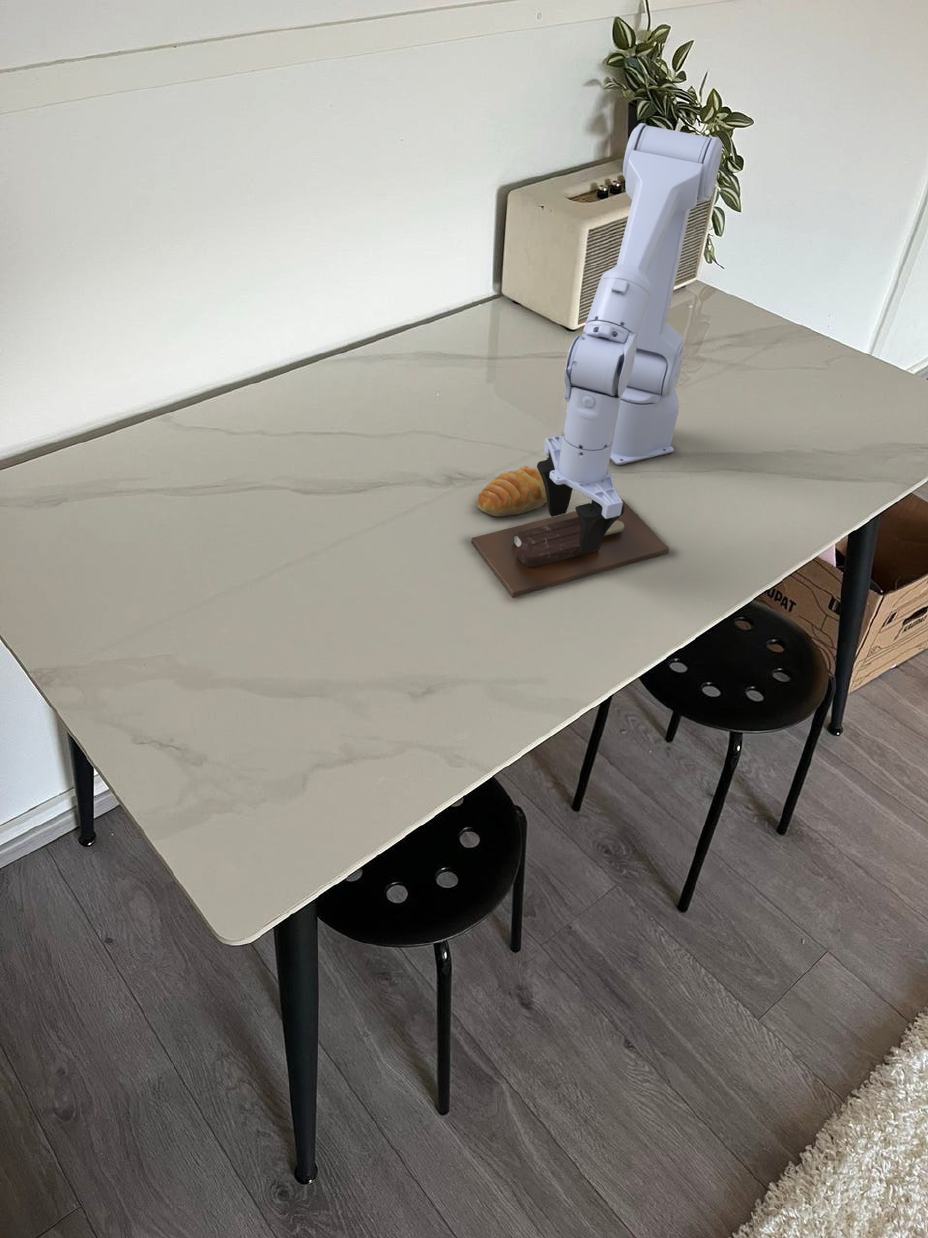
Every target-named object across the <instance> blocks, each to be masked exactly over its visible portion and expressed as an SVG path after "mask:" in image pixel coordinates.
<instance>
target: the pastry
mask: <svg viewBox="0 0 928 1238" xmlns="http://www.w3.org/2000/svg"><path fill="white" fill-rule="evenodd" d="M546 503H547V497H546V491H545V487H544V483H543V480H542V477H541V475H540V473H539V471H538V469H537V468H535V467H529V466H528V465H524V466H521V467H519V468H518V469H515V470H509V471H507V472H504V473H500V474H499V475H498V476H497V477H495V479H493V480H492V481H491V482H490V483H488V484H487V485H486V487H485V488H483V489H482V491H481V492H480V493H479V494H478V501H477V508H478V509H479V510H480V511H482V512H483V513H485V514H487V515H490V516H493V517H497V518H499V517H502V518H503V517H506V516H516V515H517V516H518V515H521V514H526V513H529V512H531V511H532V510H534V509H540V508H542V507H543V506H544V505H545V504H546Z"/></svg>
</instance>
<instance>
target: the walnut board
mask: <svg viewBox="0 0 928 1238" xmlns="http://www.w3.org/2000/svg"><path fill="white" fill-rule="evenodd" d="M620 499H621V498H620ZM621 500H622V501H623V505H624V506H625V510H624V513H623V514H622V515H621V516H620V517H619V518H618V519H617V520H616V521H621V522H622V523H623V524H624V529H623V530H622V531H620V532H616V533H612V534H609V535H605V536H604V537H603V539H602V541H601V547H600V550H598V551H595V552H591V553H587V554H584V555H580V556H576V557H573V558H569V559H565V560H561V561H558V562H554V563H550V564H546V565H543V566H539V567H535V568H531V567H527V566H525V565H524V564H523V563H522V562H521V561H520V560H519V558H518V557H517V547H516V545H515V544H514V543H513V536H514V534H515V533H517V532H521V531H525V530H529V529H533V528H537V527H541V526H544V525H548V524H552V523H556V522H560V521H564V520H568V519H572V518H576V517H578V514H577V512H576V510H575V511H571V512H566V513H565V514H561V515H557V516H553V517H551V516H550V517H547V518H543V519H540V520H536V521H531V522H528V523H525V524H524V523H523V524H521V525H517V526H512V527H509V528H505V529H501V530H496V531H493V532H489V533H485V534H481V535H477V536H473V537H471V541H470V543H471V544H472V546H473V547H474V549H475V550H476V551H477V552H478V554H479V556H481V558H482V559H483V560H484V562H485V564H486V565H487V566H488V567H489V569H490V570H491V571H492V572H493V574H494V575H495V576H496V578H497V579H498V580H499V582H500V583H501V584H502V586H503V587H504V588H505V590H506V591H507V592H508V593H509V595H510V597H512V598H515V597H518V596H522V595H525V594H529V593H532V592H536V591H539V590H543V589H547V588H551V587H553V586H557V585H561V584H564V583H569V582H572V581H575V580H578V579H581V578H586V577H589V576H592V575H597V574H600V573H603V572H607V571H610V570H614V569H617V568H622V567H625V566H627V565H632V564H635V563H638V562H639V563H640V562H642V561H646V560H649V559H653V558H656V557H659V556H663V555H666V554H669V551H670V547H669V546H667V544H666V543H665V542H664V541H663V540H662V539H661V537H659V536H658V534H656V533H655V531H654V530H653V529H651V528H650V527H649V526H648V524H647V523H646V522H645V521H644V520H643V519H642V518H641V517H640V516H639V515H638V514H637V513H636V511H634V510H633V508H632V507H631V506H629V505H628V503H626V501H624V499H621Z"/></svg>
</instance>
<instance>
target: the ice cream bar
mask: <svg viewBox="0 0 928 1238" xmlns="http://www.w3.org/2000/svg"><path fill="white" fill-rule="evenodd" d="M623 529H624V524H623V523H622V522H621V521H615V522H614V523H613V524H612V525H611V526H610V528H609V529H608V530H607V532H606V534H605V535H609V534H612V533H616V532H620V531H622V530H623ZM605 535H604V536H605ZM579 540H580V522H579V518H578V517H576V518H572V519H568V520H564V521H560V522H556V523H552V524H548V525H544V526H541V527H537V528H533V529H529V530H525V531H521V532H517V533H515V534H514V536H513V543H514V544H515V545H516V547H517V557H518V558H519V560H520V561H521V562H522V563H523V564H524V565H525V566H527V567H531V568H535V567H539V566H543V565H546V564H550V563H554V562H558V561H561V560H565V559H569V558H573V557H576V556H580V555H584V554H587V553H591V552H595V551H598V550H600V547H601V542H600V544H599V546H598V548H597V550H594V551H591V552H587V553H582V552H581V550H580V546H579Z"/></svg>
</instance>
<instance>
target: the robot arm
mask: <svg viewBox="0 0 928 1238" xmlns="http://www.w3.org/2000/svg"><path fill="white" fill-rule="evenodd" d="M722 155H723V144H722V141H721V139H720V137H718V136H712V137H709V136H705V135H699V134H694V133H689V132H684V131H679V130H673V129H668V128H663V127H658V126H651V125H648V124H647V123H645V122H644V123H643V122H641V123H638V125H637V126H635V127H634V129H633V130H632V131H631V133H630V136H629V138H628V141H627V145H626V149H625V152H624V156H623V157H624V158H623V163H622V175H623V178H624V180H625V193H626V195H627V197H629V199H631V203H630V208H629V212H628V216H627V221H626V225H625V227H624V228H625V229H624V233H623V237H622V241H621V245H620V249H619V253H618V257H617V261H616V265H615V266H613V267H612V268H610V269H608V270H606V271H604V273H603V274H602V275H601V276H600V280H599V283H598V286H597V288H596V292H595V295H594V297H593V301H592V303H591V306H590V309H589V311H588V315H587V317H586V321H585V324H584V327H583V330H582V332H581V333H582V334H581V336H580V335H576V336H575V337H574V339H573V340H572V343H571V345H570V346H569V350H568V353H567V356H566V360H565V367H564V386H565V390H564V400H566V401H567V403H566V411H565V418H564V424H563V432H562V436H561V435H555V436H551V437H546V438H545V439H544V447H543V452H544V454H545V455H546V456H548V457H547V458H546V459H545V460H540V461H538V463H537V465H536V470H538V471H539V473H540V475H541V477H542V480H543V483H544V487H545V491H546V497H547V502H546V503H547V511H548V515H549V516H550V518H551V517H555V516H559V515H563V514H567V511H568V509H569V505H570V503H571V497H572V493H573V490H575V491H576V492H578V493H580V494H582V495H583V496H585V497H587V498H588V499H591V502H588V503H585V504H580V505H577V506H576V505H575V511H576V512H577V514H578V518H579V522H580V540H579V546H580V550H581V552H582V553H587V552H591V551H594V550H597V548H598V546H599V544H600V542H601V541H602V539H603V537H604V535H605V534H606V532H607V530H608V529H609V528H610V526H611V525H612V524H613V523H614V522H615V521H616V520H617V519H618V518H619V517H620V516H621V515H622V514H623V513H624V510H625V506H624V505H623V501H624V500H623V499H622V500H623V501H622V500H621V497H620V496H619V494H618V491H617V489H616V486H615V484H614V480H613V478H612V475H611V472H610V469H609V466H610V460H611V461H612V462H613V463H614V464H615V465H616V466H622V465H625V464H629V463H633V462H638V461H642V460H647V459H650V458H654V457H658V456H663V455H667V454H670V453H673V452H674V447H673V446H672V442H673V437H674V432H675V427H676V423H677V419H678V415H679V407H680V406H679V398H678V394H677V392H676V390H675V389H676V386H677V384H678V381H679V377H680V374H681V370H682V366H683V362H684V361H683V360H684V356H683V354H684V347H685V342H684V341H685V339H684V337H683V336H682V335H681V334H680V333H679V332H678V331H677V330H676V329H675V328H674V327H673V326H672V325H671V324H670V323H669V322H668V321H669V320H668V319H669V314H670V309H671V306H672V299H673V295H674V289H675V285H676V280H677V276H678V270H679V266H680V260H681V257H682V251H683V246H684V242H685V237H686V233H687V232H686V231H687V226H688V221H689V218H690V217H689V216H690V212H691V210H692V209H693V208H696V207H697V205H698V203H699V202H709V201H711V198H712V196H713V194H714V191H715V187H716V183H717V178H718V173H719V169H720V166H721V160H722Z"/></svg>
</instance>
